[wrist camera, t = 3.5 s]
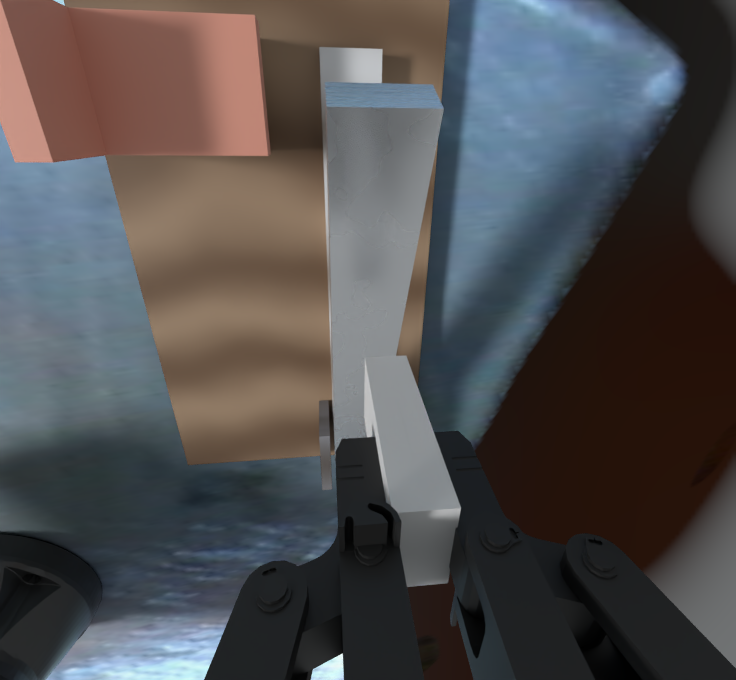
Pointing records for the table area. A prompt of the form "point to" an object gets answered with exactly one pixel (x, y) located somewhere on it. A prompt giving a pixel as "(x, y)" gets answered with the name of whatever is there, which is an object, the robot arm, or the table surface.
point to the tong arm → (373, 224)
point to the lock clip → (129, 83)
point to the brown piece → (267, 232)
